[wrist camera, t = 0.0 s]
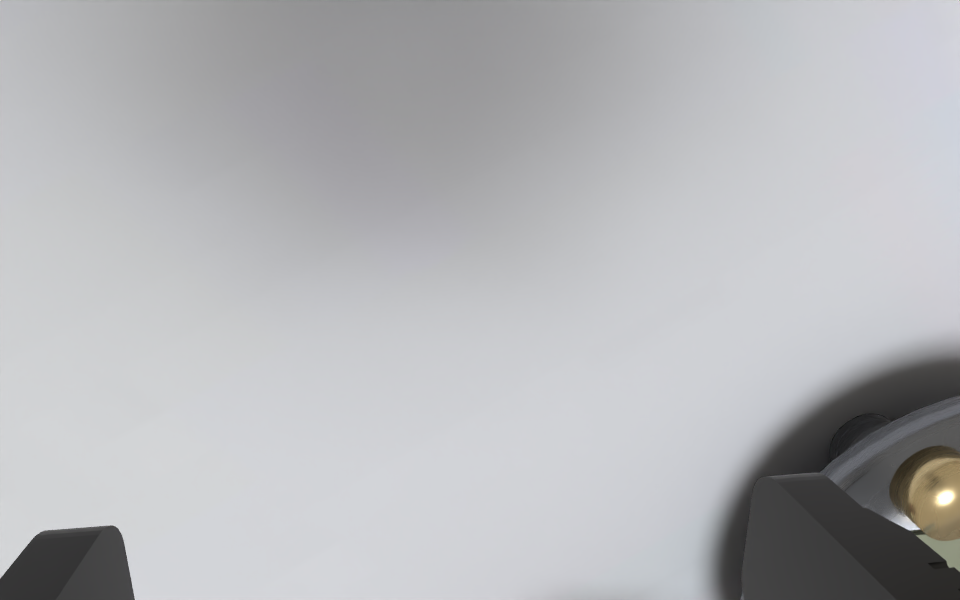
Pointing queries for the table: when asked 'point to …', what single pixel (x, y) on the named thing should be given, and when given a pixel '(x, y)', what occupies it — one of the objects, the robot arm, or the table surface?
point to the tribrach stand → (906, 471)
